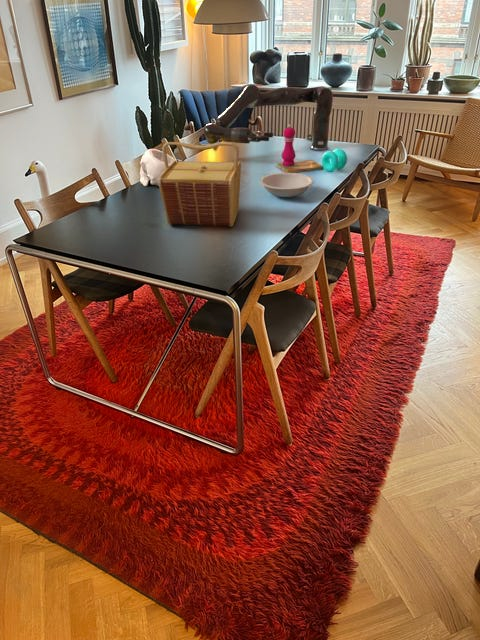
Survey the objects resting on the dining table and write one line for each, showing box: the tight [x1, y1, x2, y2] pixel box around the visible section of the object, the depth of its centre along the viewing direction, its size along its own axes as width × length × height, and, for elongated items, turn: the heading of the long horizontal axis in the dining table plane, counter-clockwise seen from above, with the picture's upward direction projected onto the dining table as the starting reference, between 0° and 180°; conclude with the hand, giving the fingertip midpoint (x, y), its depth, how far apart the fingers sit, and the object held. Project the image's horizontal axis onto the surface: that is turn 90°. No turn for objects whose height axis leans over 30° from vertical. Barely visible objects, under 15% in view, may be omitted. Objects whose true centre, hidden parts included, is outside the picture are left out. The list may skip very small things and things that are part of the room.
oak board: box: [277, 159, 324, 173], centre depth 251 cm, size 14×20×2 cm
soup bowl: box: [259, 172, 315, 198], centre depth 215 cm, size 24×24×7 cm
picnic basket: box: [158, 141, 242, 228], centre depth 185 cm, size 29×26×30 cm
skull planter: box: [139, 148, 177, 187], centre depth 230 cm, size 14×20×19 cm
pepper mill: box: [281, 123, 297, 166], centre depth 246 cm, size 7×7×20 cm
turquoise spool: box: [321, 148, 348, 173], centre depth 244 cm, size 10×10×10 cm
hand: (270, 136), depth 246 cm, fingers open, 8 cm apart
